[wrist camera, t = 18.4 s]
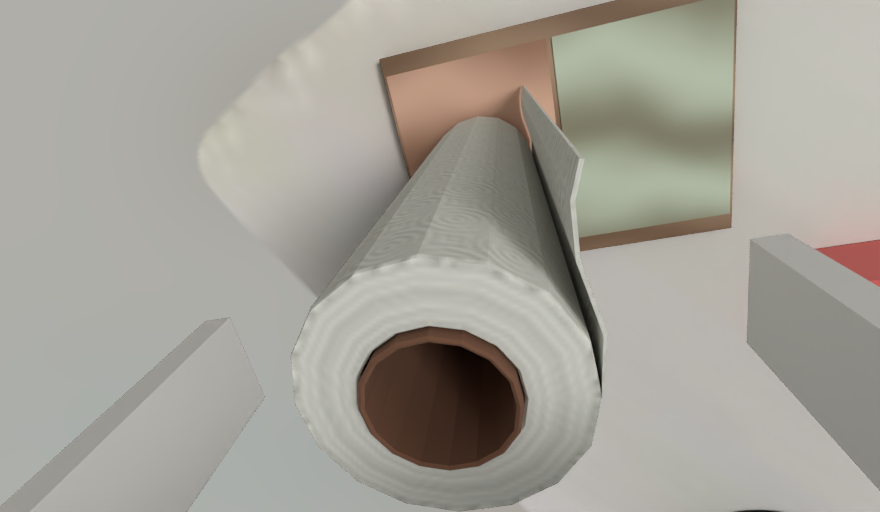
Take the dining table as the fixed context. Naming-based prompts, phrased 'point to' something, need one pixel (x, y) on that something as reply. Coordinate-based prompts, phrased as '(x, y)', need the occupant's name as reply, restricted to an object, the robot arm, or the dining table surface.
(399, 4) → the dining table surface
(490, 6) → the dining table surface
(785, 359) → the robot arm
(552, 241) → the paper towel roll
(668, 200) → the game board
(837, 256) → the red die
